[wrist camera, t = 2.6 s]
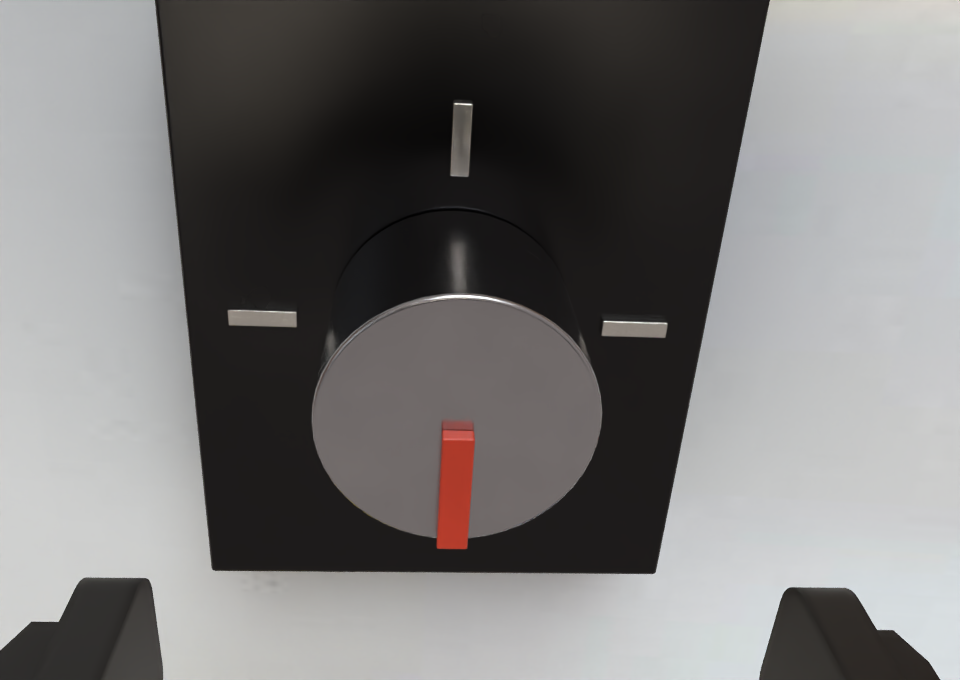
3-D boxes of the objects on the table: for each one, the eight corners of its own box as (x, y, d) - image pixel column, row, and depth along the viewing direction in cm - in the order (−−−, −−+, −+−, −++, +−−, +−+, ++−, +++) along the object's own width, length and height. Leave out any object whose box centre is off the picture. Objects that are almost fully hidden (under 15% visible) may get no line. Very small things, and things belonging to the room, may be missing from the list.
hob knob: (330, 204, 18) (304, 298, 14) (582, 213, 18) (625, 308, 14) (333, 419, 20) (312, 550, 16) (557, 424, 20) (587, 552, 17)
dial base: (193, -71, 18) (145, -55, 15) (718, -37, 19) (778, -17, 16) (237, 484, 25) (210, 576, 22) (628, 490, 26) (657, 579, 23)
